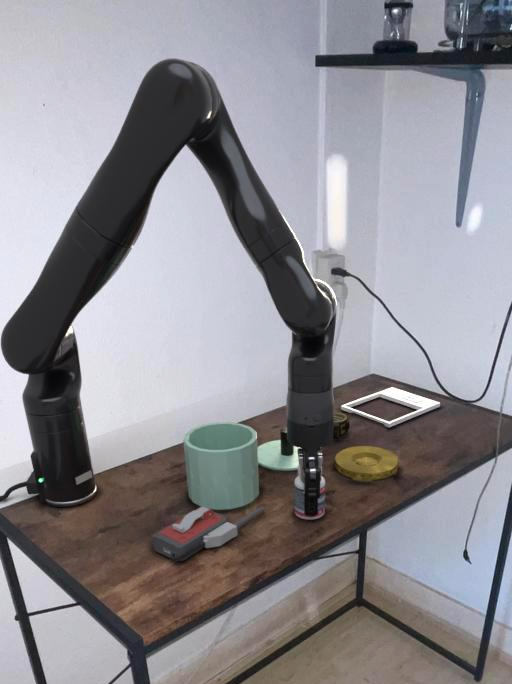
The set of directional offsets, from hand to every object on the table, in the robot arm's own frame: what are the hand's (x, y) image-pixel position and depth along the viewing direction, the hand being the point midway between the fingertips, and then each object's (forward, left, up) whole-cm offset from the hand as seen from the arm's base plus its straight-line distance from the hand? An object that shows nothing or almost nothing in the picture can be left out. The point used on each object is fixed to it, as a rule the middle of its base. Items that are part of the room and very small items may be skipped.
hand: (309, 505), depth 117 cm
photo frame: (+22, +47, -2) cm, 52 cm away
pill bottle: (0, 0, -2) cm, 2 cm away
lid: (-3, +22, -1) cm, 22 cm away
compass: (+12, +16, -2) cm, 20 cm away
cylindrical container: (-15, +8, -1) cm, 17 cm away
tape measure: (+7, +33, -2) cm, 34 cm away
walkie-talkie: (-17, -6, -2) cm, 18 cm away
